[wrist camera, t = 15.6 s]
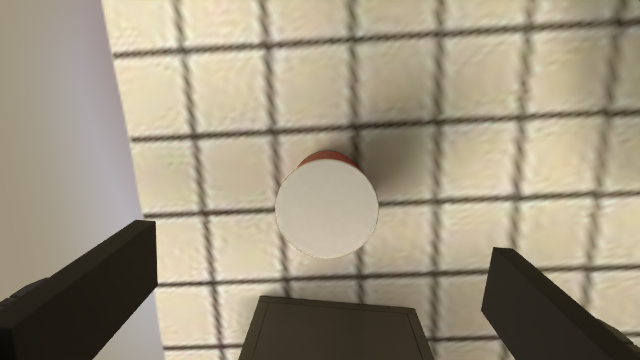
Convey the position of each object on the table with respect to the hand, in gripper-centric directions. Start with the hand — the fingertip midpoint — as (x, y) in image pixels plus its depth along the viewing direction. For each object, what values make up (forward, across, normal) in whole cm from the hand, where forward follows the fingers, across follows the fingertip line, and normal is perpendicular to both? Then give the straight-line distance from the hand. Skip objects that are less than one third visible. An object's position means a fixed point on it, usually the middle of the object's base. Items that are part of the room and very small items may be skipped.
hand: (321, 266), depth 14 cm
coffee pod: (+12, 0, 0) cm, 12 cm away
